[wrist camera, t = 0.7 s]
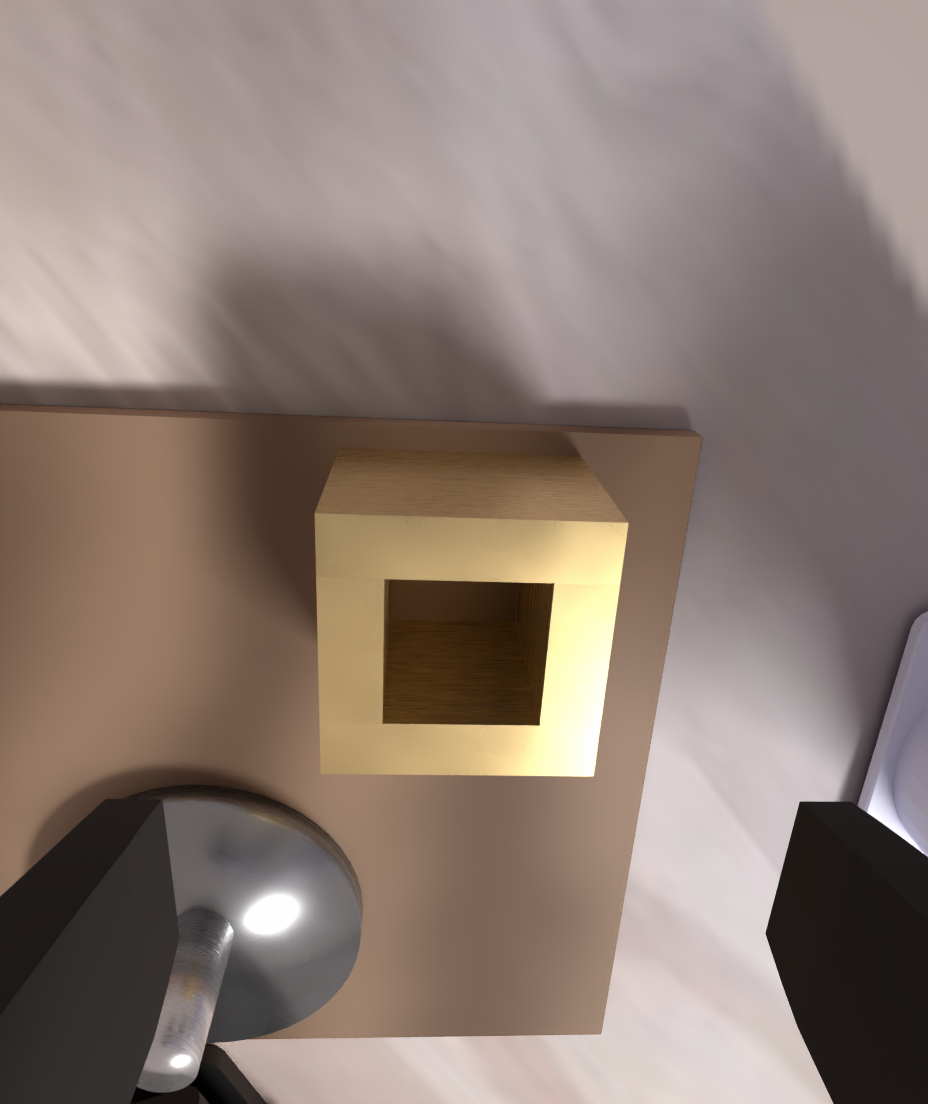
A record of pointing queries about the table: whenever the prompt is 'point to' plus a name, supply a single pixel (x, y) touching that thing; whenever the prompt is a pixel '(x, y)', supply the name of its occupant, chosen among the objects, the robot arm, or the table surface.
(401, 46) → the table surface
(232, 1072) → the end cap
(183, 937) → the stand
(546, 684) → the collar
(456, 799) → the board
